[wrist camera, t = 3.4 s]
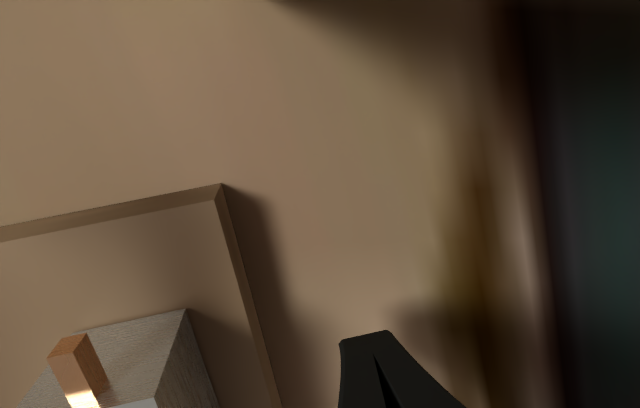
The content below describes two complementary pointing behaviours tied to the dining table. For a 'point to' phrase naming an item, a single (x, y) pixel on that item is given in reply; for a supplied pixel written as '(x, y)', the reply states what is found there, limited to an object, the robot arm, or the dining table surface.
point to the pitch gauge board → (133, 288)
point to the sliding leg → (126, 368)
